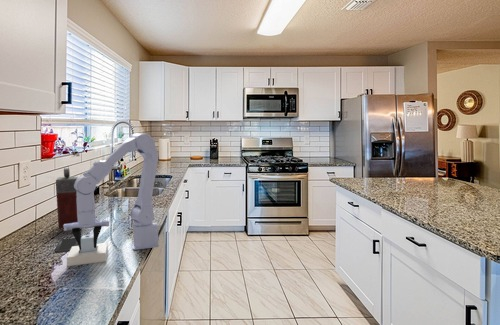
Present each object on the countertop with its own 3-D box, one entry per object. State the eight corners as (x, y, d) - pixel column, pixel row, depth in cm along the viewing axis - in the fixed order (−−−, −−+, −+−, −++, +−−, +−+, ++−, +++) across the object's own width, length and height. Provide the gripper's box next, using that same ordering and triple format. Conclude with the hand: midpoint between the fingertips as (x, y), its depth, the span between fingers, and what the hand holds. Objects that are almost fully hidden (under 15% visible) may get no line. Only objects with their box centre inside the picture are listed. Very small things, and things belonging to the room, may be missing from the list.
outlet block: (107, 250, 129) (107, 242, 129) (105, 261, 118) (105, 252, 118) (72, 254, 125) (72, 246, 125) (67, 266, 114) (66, 257, 114)
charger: (95, 250, 124) (94, 233, 123) (94, 254, 120) (93, 236, 120) (82, 251, 123) (81, 235, 122) (81, 255, 119) (80, 238, 118)
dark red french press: (85, 226, 164) (82, 168, 161) (58, 229, 159) (54, 169, 157) (85, 221, 172) (82, 166, 170) (60, 224, 167) (56, 167, 165)
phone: (54, 250, 127) (60, 239, 141) (54, 253, 127) (60, 242, 141) (77, 248, 130) (81, 237, 144) (77, 251, 130) (81, 239, 144)
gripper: (60, 214, 114) (63, 254, 115) (107, 210, 119) (109, 248, 120) (64, 210, 121) (66, 247, 122) (108, 206, 126) (110, 242, 127)
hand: (88, 247), depth 122 cm, fingers closed on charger, 4 cm apart
